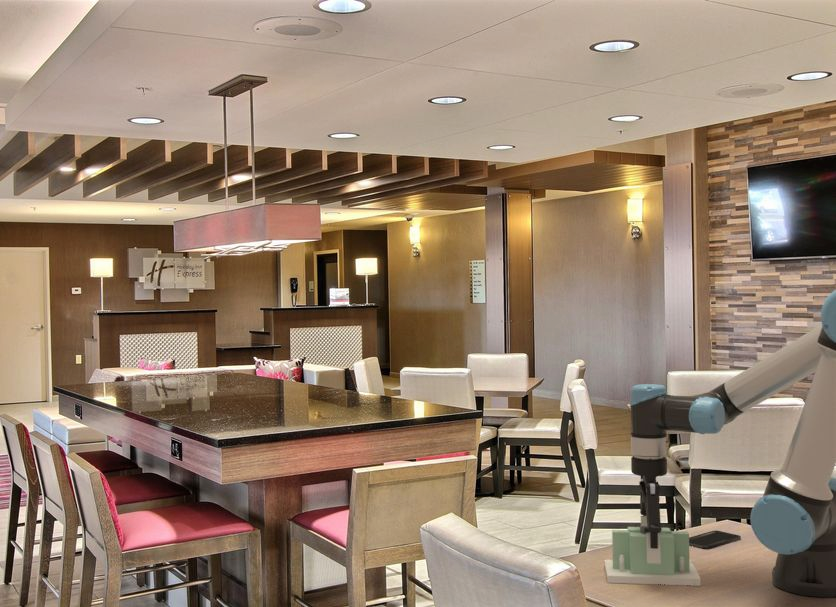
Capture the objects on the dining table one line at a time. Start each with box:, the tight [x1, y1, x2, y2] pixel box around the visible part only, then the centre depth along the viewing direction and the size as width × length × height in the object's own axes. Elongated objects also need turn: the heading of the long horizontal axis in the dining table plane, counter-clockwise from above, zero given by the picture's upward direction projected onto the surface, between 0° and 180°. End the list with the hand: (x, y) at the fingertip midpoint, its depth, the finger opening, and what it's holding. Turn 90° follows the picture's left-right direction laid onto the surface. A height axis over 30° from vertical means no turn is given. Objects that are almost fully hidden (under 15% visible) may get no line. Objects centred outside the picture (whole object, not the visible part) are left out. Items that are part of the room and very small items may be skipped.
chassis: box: [604, 555, 702, 587], centre depth 192 cm, size 19×12×5 cm, turn 81°
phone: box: [689, 530, 742, 550], centre depth 218 cm, size 8×1×15 cm
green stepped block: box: [611, 525, 690, 575], centre depth 192 cm, size 16×8×9 cm, turn 81°
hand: (650, 553), depth 192 cm, fingers open, 13 cm apart
